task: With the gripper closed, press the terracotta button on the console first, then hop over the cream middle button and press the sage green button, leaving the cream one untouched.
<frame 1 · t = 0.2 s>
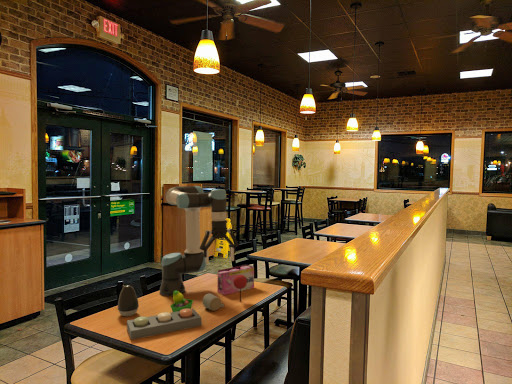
hand: (219, 262, 185), 28 cm above the table, tool pointing down, fingers open, 13 cm apart
lollipop: (240, 301, 206), on the table
sage button: (141, 321, 167), point 5 cm above the table, slide at 0.0 cm
terracotta button: (186, 313, 177), point 5 cm above the table, slide at 0.0 cm
ceramic mug: (214, 308, 196), on the table
fruit basket: (181, 312, 191), on the table
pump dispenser: (128, 314, 189), on the table
console: (164, 327, 172), on the table
gum box: (236, 290, 227), on the table
cream button: (164, 317, 172), point 5 cm above the table, slide at 0.0 cm
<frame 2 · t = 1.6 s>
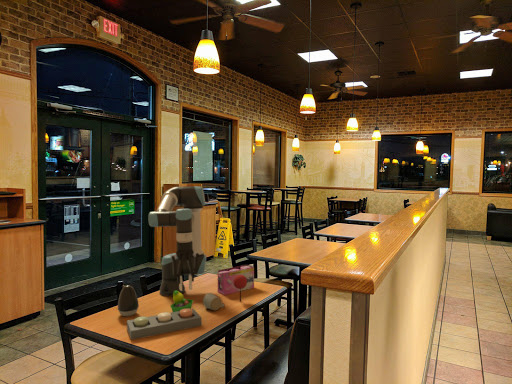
hand: (185, 289, 176), 17 cm above the table, tool pointing down, fingers open, 4 cm apart
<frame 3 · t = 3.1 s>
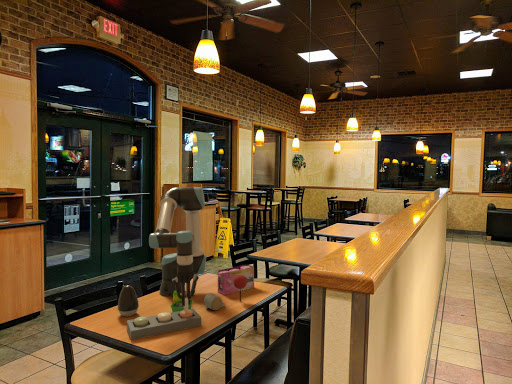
hand: (186, 311, 177), 6 cm above the table, tool pointing down, fingers closed
terracotta button: (186, 314, 177), point 4 cm above the table, slide at 0.7 cm, touching gripper
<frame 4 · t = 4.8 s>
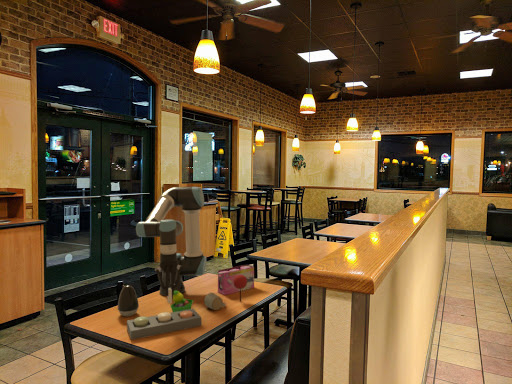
hand: (169, 302, 173), 12 cm above the table, tool pointing down, fingers closed
terracotta button: (186, 315, 177), point 4 cm above the table, slide at 1.2 cm
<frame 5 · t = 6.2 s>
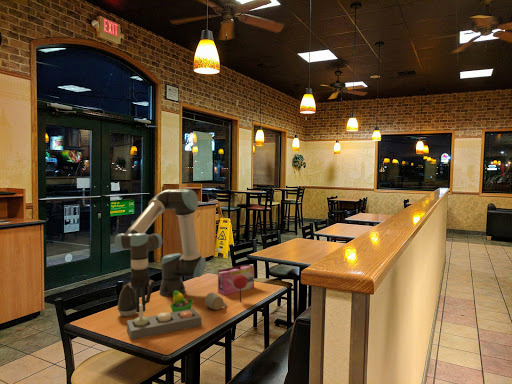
hand: (141, 318, 167), 6 cm above the table, tool pointing down, fingers closed
sage button: (141, 321, 167), point 5 cm above the table, slide at 0.0 cm, touching gripper
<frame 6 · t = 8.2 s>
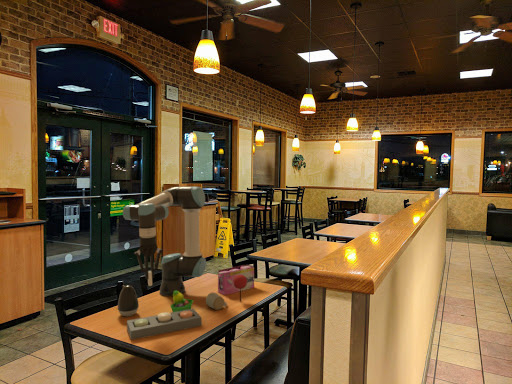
hand: (150, 284, 175), 19 cm above the table, tool pointing down, fingers closed
sage button: (141, 324, 168), point 4 cm above the table, slide at 1.2 cm
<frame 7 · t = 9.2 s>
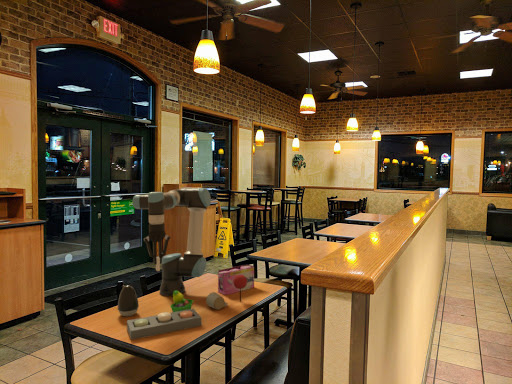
hand: (157, 270, 182), 24 cm above the table, tool pointing down, fingers closed
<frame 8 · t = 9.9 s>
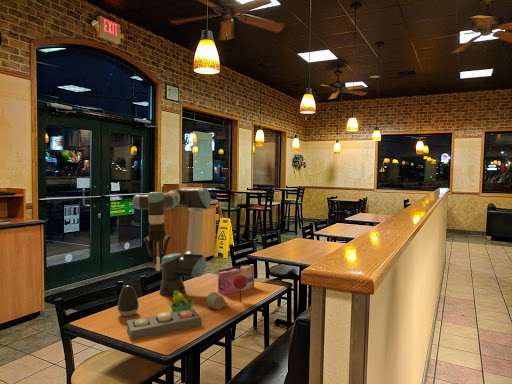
hand: (157, 270, 182), 24 cm above the table, tool pointing down, fingers closed
at the end: terracotta button slide at 1.2 cm; sage button slide at 1.2 cm; cream button slide at 0.0 cm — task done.
